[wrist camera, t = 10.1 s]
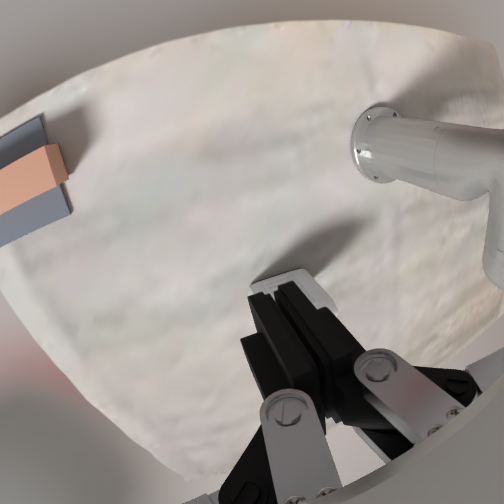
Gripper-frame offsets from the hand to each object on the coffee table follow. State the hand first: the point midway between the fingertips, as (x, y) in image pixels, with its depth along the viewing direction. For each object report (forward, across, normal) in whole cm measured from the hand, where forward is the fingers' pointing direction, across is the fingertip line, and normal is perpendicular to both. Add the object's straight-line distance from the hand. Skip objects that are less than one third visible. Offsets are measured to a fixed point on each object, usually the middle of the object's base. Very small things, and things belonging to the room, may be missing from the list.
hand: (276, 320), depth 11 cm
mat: (+31, +24, -8) cm, 40 cm away
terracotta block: (+28, +15, -8) cm, 33 cm away
